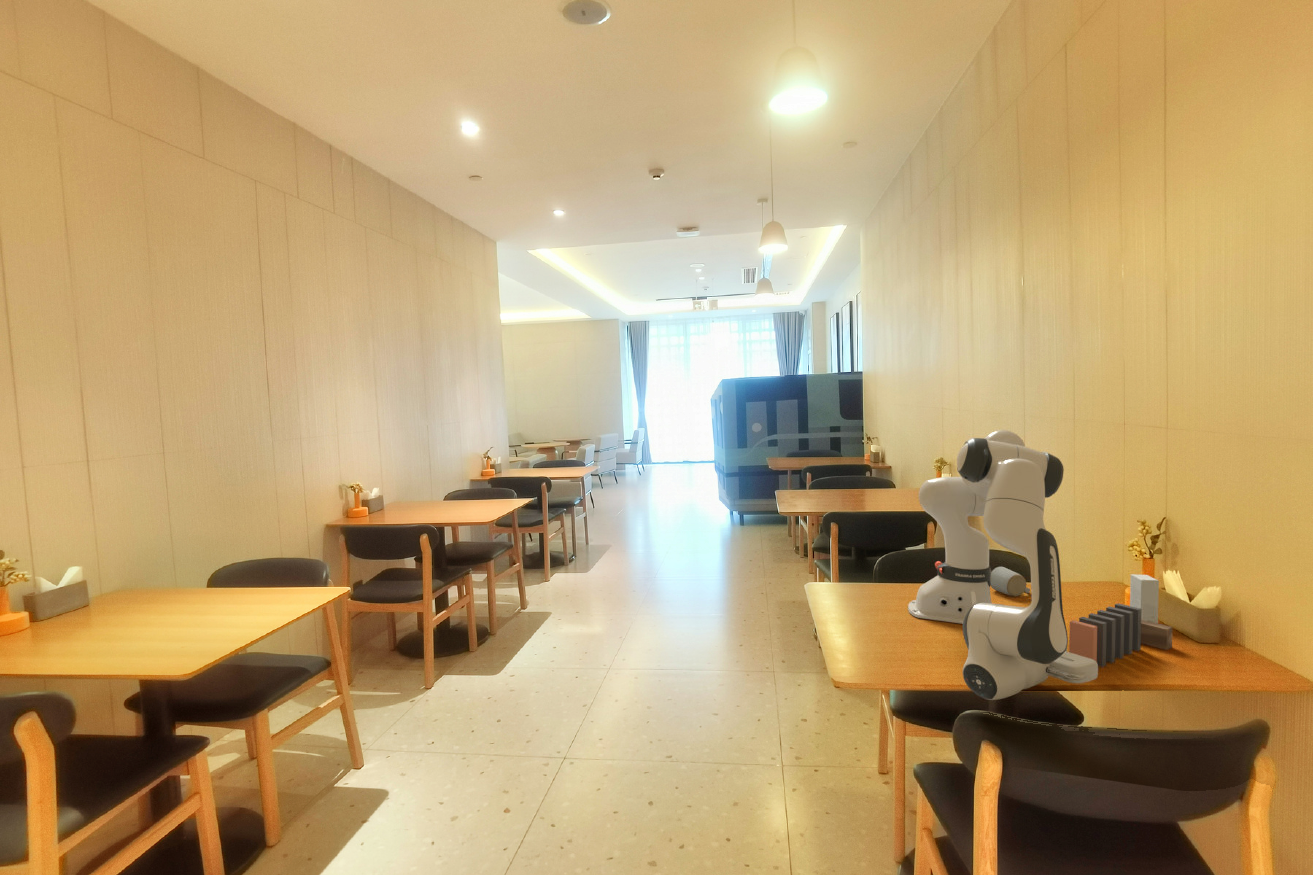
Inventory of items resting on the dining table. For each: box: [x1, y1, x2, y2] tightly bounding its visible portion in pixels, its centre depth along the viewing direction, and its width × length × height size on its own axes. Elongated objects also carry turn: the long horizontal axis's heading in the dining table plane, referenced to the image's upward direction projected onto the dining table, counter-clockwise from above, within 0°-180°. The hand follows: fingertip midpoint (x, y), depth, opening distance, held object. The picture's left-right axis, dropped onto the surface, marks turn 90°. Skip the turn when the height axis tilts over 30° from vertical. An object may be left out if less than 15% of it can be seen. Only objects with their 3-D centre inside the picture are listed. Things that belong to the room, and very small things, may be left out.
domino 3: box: [1087, 613, 1116, 664], centre depth 151 cm, size 2×5×10 cm, turn 31°
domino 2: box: [1078, 616, 1107, 668], centre depth 149 cm, size 2×5×10 cm, turn 31°
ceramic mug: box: [990, 566, 1031, 598], centre depth 202 cm, size 11×8×8 cm
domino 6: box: [1114, 603, 1142, 652], centre depth 158 cm, size 2×5×10 cm, turn 31°
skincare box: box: [1129, 574, 1160, 624], centre depth 175 cm, size 6×4×12 cm
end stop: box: [1141, 620, 1173, 651], centre depth 162 cm, size 3×12×5 cm, turn 31°
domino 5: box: [1105, 606, 1133, 656], centre depth 156 cm, size 2×5×10 cm, turn 31°
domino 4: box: [1096, 609, 1125, 660], centre depth 154 cm, size 2×5×10 cm, turn 31°
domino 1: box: [1068, 619, 1097, 662], centre depth 147 cm, size 2×5×10 cm, turn 31°
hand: (1060, 648), depth 142 cm, fingers closed
